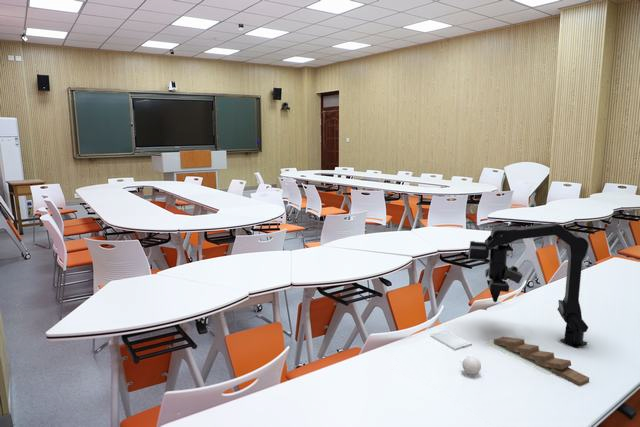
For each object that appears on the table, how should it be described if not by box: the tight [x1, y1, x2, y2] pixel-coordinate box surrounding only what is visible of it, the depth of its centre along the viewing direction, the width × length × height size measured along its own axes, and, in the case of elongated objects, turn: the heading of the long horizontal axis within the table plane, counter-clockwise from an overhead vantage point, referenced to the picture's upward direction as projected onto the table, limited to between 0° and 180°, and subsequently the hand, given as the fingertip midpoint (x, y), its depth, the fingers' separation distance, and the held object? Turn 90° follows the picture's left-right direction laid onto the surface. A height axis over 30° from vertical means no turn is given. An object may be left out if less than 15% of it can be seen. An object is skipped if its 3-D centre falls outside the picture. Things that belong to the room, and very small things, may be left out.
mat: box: [484, 336, 553, 375], centre depth 154 cm, size 9×25×1 cm, turn 29°
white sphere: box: [459, 355, 482, 376], centre depth 142 cm, size 8×6×6 cm
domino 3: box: [520, 350, 556, 361], centre depth 149 cm, size 2×5×9 cm
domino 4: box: [535, 357, 572, 370], centre depth 144 cm, size 2×5×9 cm
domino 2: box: [506, 343, 540, 354], centre depth 154 cm, size 2×5×9 cm
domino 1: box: [492, 336, 526, 347], centre depth 158 cm, size 2×5×9 cm
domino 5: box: [551, 366, 590, 387], centre depth 139 cm, size 2×5×9 cm
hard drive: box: [430, 329, 473, 351], centre depth 164 cm, size 2×8×12 cm
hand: (494, 301), depth 167 cm, fingers closed
